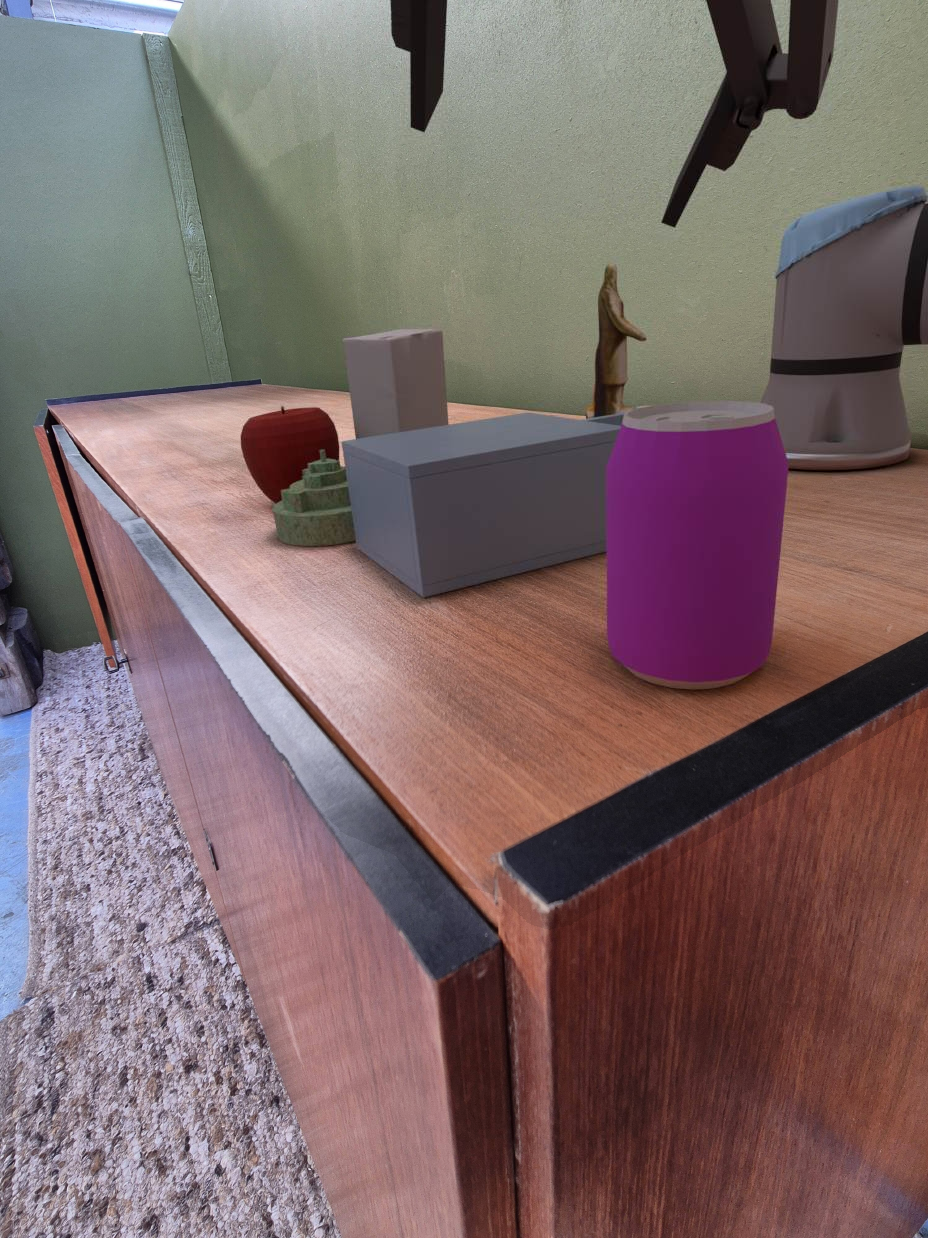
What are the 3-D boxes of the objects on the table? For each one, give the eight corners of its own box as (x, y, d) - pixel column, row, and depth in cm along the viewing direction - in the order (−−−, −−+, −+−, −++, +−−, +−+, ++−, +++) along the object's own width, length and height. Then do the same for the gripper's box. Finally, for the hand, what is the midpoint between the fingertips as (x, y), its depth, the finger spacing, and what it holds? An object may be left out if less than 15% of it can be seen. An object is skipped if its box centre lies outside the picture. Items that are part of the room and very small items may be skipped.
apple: (249, 503, 76) (229, 407, 73) (337, 489, 79) (322, 396, 76) (259, 522, 68) (238, 415, 64) (356, 505, 71) (341, 402, 67)
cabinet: (532, 510, 64) (528, 412, 61) (629, 546, 52) (629, 426, 49) (357, 548, 58) (341, 441, 54) (423, 598, 46) (408, 465, 43)
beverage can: (751, 627, 38) (770, 394, 33) (787, 698, 31) (817, 417, 27) (605, 628, 40) (604, 404, 35) (608, 697, 33) (607, 430, 28)
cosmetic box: (409, 480, 81) (392, 329, 74) (460, 484, 77) (447, 325, 70) (358, 498, 74) (334, 335, 68) (410, 503, 70) (390, 331, 64)
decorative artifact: (351, 549, 58) (410, 515, 66) (338, 462, 55) (401, 438, 63) (254, 543, 62) (320, 512, 70) (237, 462, 59) (308, 440, 67)
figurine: (651, 476, 72) (655, 256, 64) (575, 477, 75) (570, 266, 67) (655, 466, 76) (659, 259, 69) (582, 467, 79) (579, 267, 71)
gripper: (126, -748, 15) (294, 127, 36) (1246, -318, 15) (759, 304, 36) (270, -931, 16) (350, 13, 37) (1291, -537, 16) (798, 184, 37)
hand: (551, 157), depth 36 cm, fingers open, 13 cm apart
